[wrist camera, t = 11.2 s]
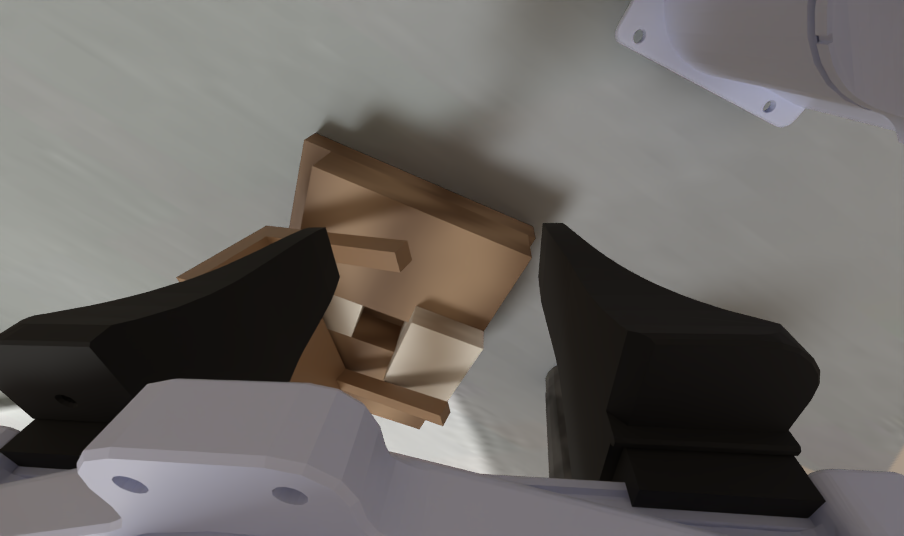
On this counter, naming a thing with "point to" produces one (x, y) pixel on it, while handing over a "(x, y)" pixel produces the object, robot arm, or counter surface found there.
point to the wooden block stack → (408, 270)
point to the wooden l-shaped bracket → (321, 353)
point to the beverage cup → (556, 428)
